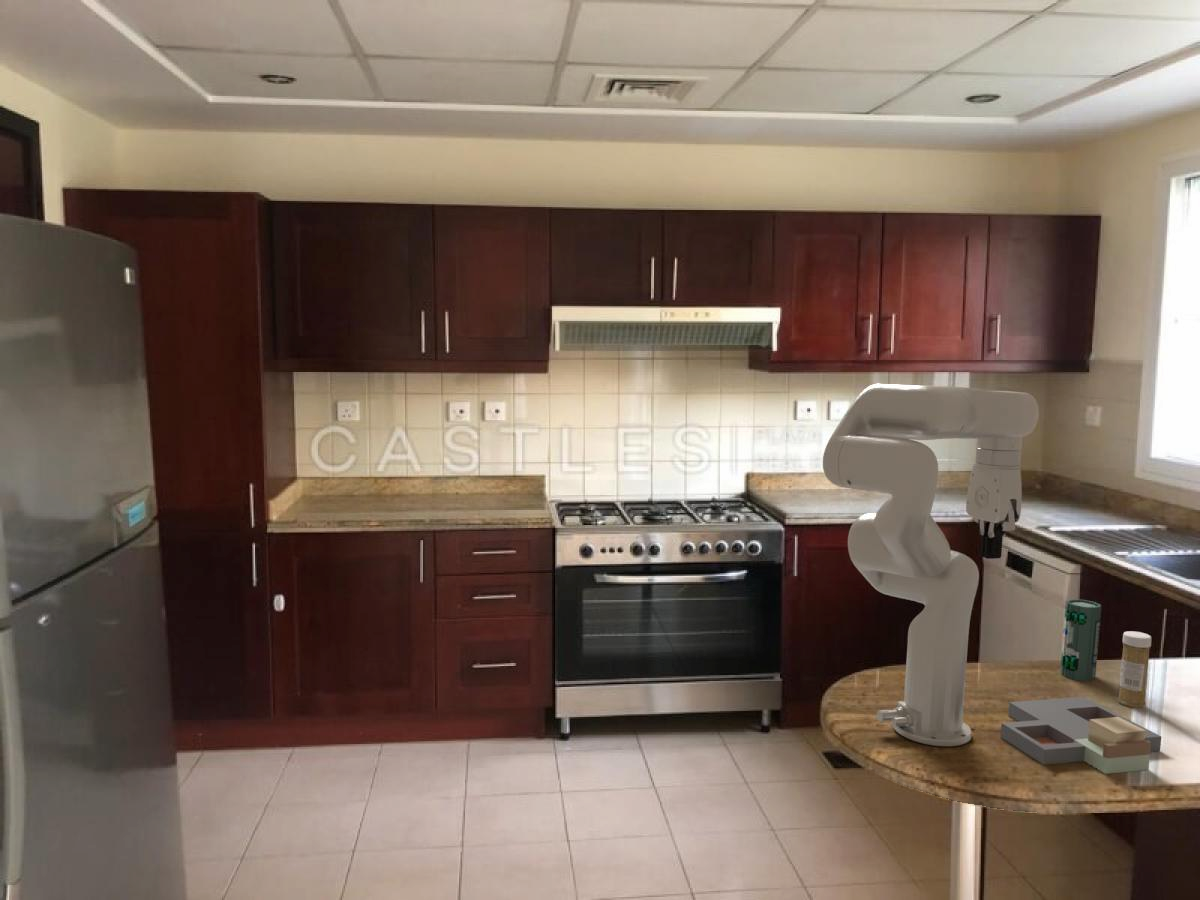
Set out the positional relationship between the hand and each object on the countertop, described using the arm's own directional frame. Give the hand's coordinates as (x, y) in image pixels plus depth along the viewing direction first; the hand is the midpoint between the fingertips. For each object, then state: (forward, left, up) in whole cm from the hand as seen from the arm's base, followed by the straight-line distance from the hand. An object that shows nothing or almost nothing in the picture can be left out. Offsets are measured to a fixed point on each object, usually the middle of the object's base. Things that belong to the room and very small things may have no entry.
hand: (990, 557), depth 170 cm
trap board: (+4, -20, -27) cm, 34 cm away
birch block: (+5, -27, -25) cm, 37 cm away
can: (+28, +8, -27) cm, 40 cm away
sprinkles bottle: (+27, -7, -27) cm, 39 cm away
